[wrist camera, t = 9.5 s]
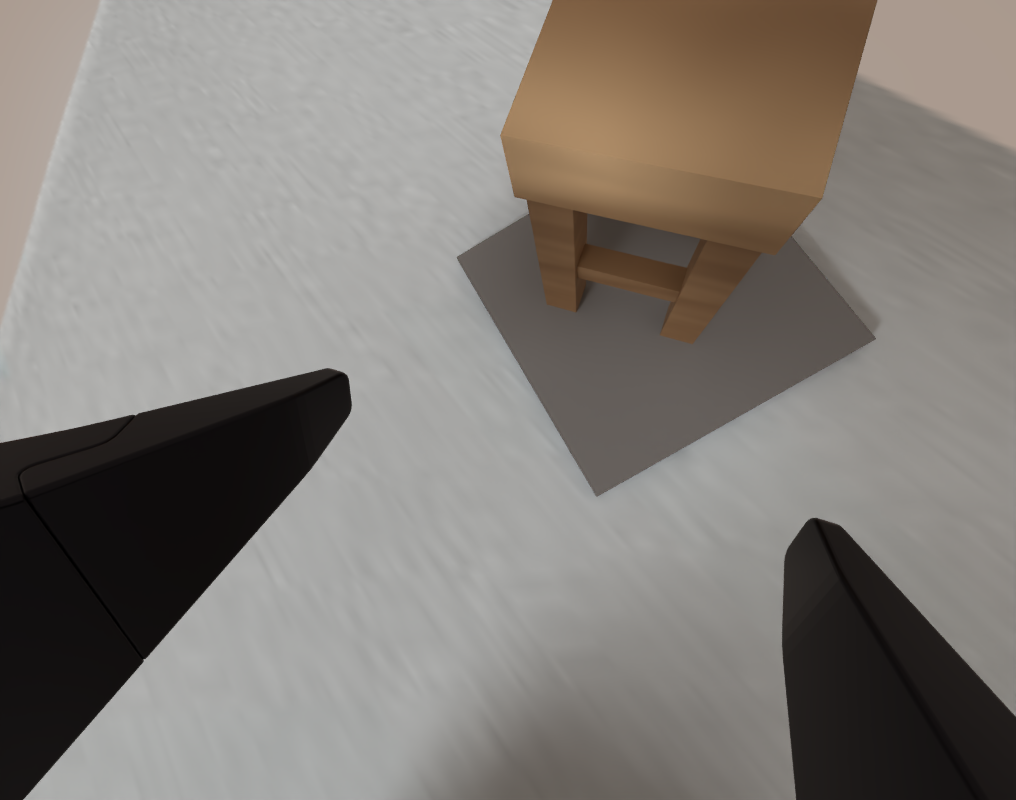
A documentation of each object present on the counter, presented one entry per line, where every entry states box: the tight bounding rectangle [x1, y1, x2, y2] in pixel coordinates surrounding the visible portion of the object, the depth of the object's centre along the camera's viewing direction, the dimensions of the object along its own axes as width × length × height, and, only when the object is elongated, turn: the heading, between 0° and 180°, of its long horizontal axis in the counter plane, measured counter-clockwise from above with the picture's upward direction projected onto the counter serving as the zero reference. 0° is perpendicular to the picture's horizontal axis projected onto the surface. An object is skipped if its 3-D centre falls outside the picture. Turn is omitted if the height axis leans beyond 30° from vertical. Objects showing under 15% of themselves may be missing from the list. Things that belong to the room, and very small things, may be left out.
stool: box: [500, 0, 877, 344], centre depth 13 cm, size 6×6×9 cm
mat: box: [457, 213, 876, 496], centre depth 18 cm, size 11×11×1 cm
